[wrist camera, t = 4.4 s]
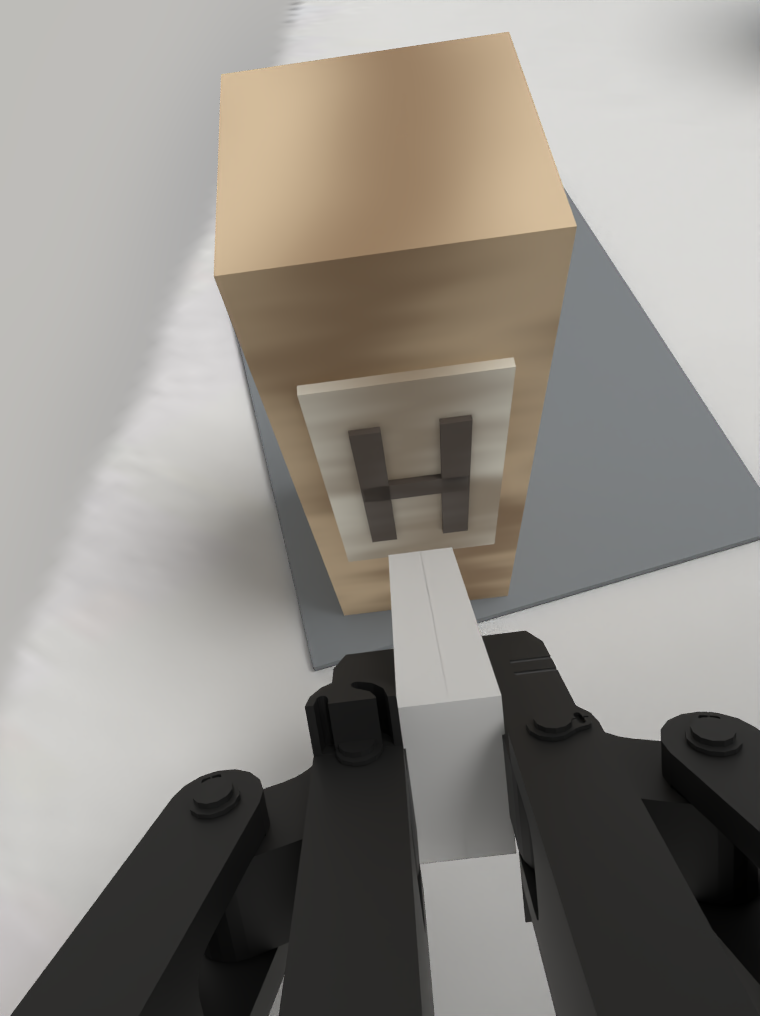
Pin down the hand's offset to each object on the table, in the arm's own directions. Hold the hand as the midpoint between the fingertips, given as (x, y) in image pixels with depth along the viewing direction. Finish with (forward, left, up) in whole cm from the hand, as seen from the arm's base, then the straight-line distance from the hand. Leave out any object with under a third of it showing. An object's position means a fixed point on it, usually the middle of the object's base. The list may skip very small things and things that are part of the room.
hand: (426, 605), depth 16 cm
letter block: (-1, -6, -8) cm, 10 cm away
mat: (-5, -13, -9) cm, 17 cm away
